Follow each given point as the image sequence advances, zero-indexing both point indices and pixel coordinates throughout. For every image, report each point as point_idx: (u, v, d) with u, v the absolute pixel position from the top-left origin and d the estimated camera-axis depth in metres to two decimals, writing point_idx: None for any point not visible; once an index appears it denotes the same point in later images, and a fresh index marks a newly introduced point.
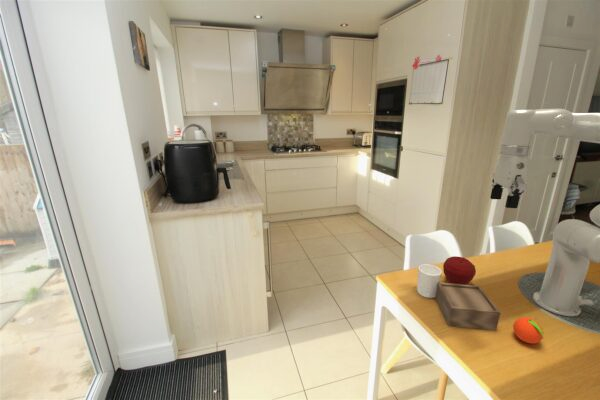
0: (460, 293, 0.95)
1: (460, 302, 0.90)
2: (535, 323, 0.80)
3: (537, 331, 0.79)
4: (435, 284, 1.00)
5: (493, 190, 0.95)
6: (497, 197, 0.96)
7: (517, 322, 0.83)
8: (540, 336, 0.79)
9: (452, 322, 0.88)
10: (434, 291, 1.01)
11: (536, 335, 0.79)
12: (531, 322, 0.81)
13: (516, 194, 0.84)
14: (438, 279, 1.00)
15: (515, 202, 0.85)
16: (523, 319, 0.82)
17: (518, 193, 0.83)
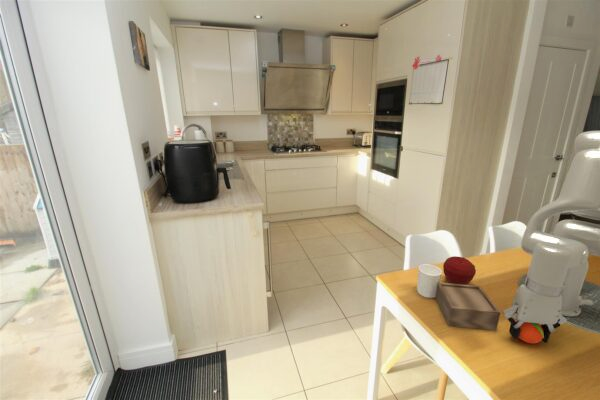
0: (460, 293, 0.95)
1: (460, 302, 0.90)
2: (535, 323, 0.80)
3: (537, 331, 0.79)
4: (435, 284, 1.00)
5: (519, 331, 0.81)
6: None
7: None
8: (540, 336, 0.79)
9: (452, 322, 0.88)
10: (434, 291, 1.01)
11: (536, 335, 0.79)
12: None
13: None
14: (438, 279, 1.00)
15: None
16: None
17: None
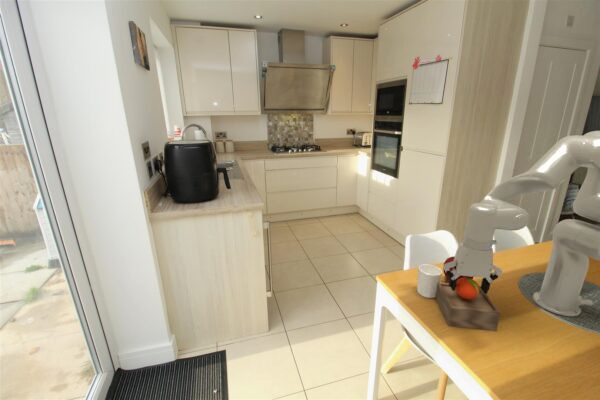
0: None
1: (460, 302, 0.90)
2: (472, 281, 0.90)
3: (473, 287, 0.89)
4: (435, 284, 1.00)
5: (456, 282, 0.90)
6: None
7: (458, 281, 0.93)
8: (476, 292, 0.89)
9: (452, 322, 0.88)
10: (434, 291, 1.02)
11: (472, 291, 0.89)
12: (469, 280, 0.91)
13: None
14: (438, 279, 1.00)
15: None
16: (463, 278, 0.92)
17: None
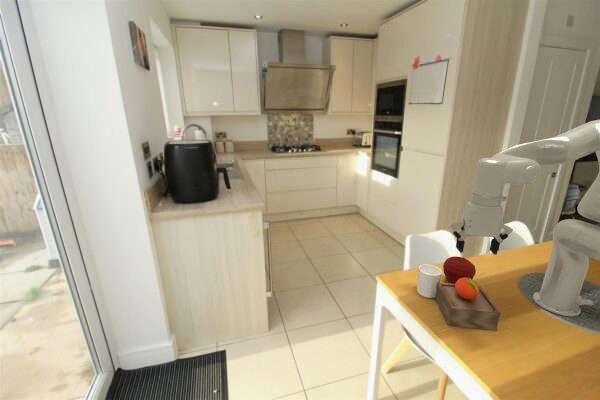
0: None
1: (460, 302, 0.90)
2: (472, 281, 0.90)
3: (473, 287, 0.89)
4: (435, 284, 1.00)
5: (463, 243, 0.86)
6: None
7: (457, 281, 0.93)
8: (476, 292, 0.89)
9: (452, 322, 0.88)
10: (434, 291, 1.02)
11: (472, 291, 0.89)
12: (469, 280, 0.91)
13: None
14: (438, 279, 1.00)
15: None
16: (462, 278, 0.92)
17: None
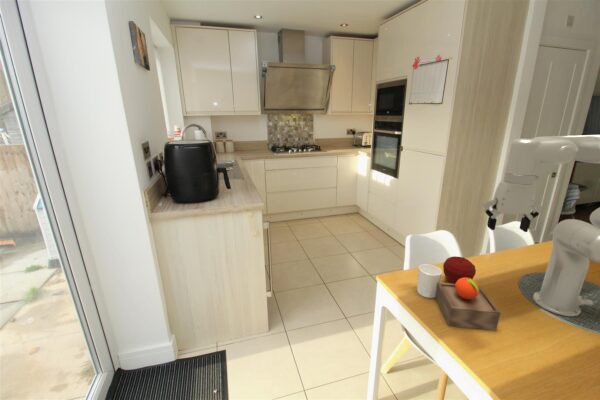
0: None
1: (460, 302, 0.90)
2: (472, 281, 0.90)
3: (473, 287, 0.89)
4: (435, 284, 1.00)
5: (495, 221, 0.90)
6: None
7: (458, 281, 0.93)
8: (476, 292, 0.89)
9: (452, 322, 0.88)
10: (434, 291, 1.02)
11: (472, 291, 0.89)
12: (469, 280, 0.91)
13: None
14: (438, 279, 1.00)
15: None
16: (462, 278, 0.92)
17: None
